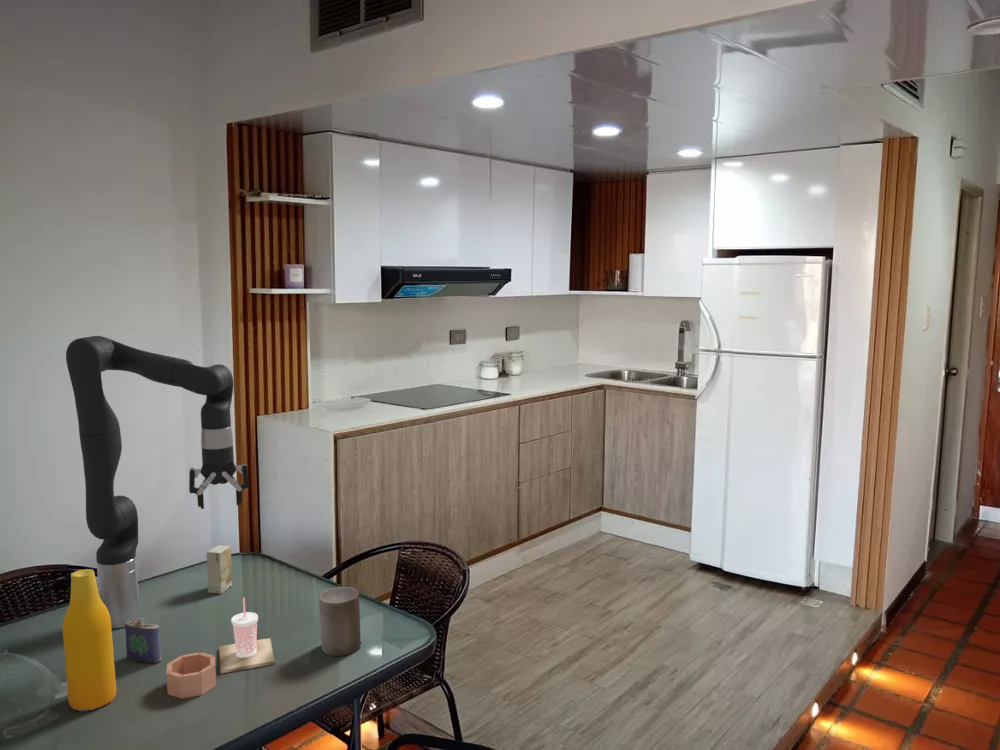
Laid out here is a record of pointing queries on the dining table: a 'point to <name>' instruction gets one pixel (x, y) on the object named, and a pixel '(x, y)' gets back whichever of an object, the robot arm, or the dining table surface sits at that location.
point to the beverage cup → (245, 633)
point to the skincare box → (219, 569)
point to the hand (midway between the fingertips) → (220, 506)
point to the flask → (143, 642)
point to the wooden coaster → (235, 663)
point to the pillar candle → (340, 621)
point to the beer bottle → (88, 645)
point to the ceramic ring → (191, 675)
